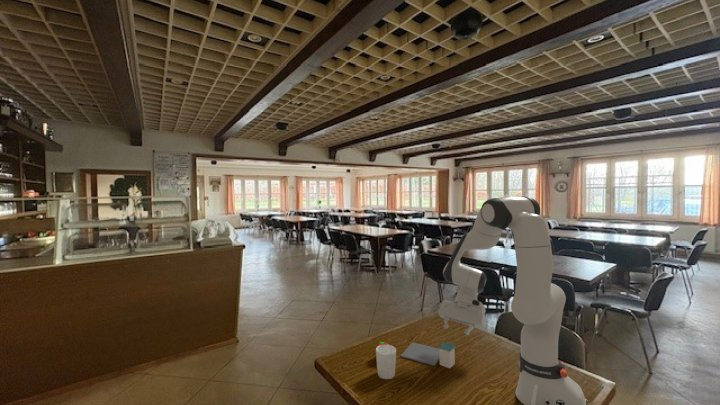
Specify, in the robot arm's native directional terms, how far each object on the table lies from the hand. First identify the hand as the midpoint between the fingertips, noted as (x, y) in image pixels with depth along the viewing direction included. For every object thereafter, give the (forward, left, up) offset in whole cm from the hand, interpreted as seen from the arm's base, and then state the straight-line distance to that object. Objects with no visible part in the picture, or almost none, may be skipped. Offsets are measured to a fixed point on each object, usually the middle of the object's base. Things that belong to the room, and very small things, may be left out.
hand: (455, 330), depth 136 cm
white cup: (+21, +27, -11) cm, 36 cm away
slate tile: (+13, +5, -11) cm, 18 cm away
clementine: (+27, +17, -11) cm, 34 cm away
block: (+2, +8, -11) cm, 14 cm away
